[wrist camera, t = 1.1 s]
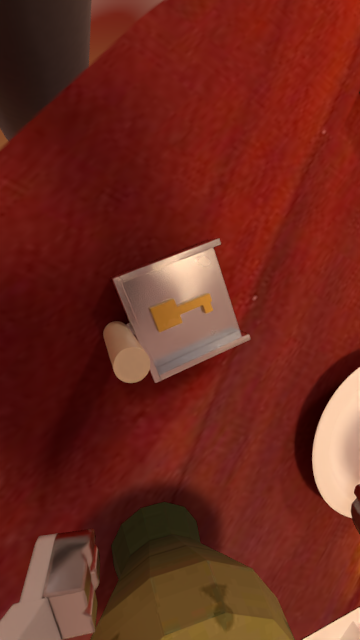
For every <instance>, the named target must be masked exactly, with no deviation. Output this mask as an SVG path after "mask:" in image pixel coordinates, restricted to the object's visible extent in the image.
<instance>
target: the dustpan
mask: <svg viewBox="0 0 360 640" xmlns="http://www.w3.org/2000/svg"><path fill="white" fill-rule="evenodd" d="M219 245H221V242H220V239H219V238H216V239H211V240H207V241H204V242H202V243H199V244H196V245H194V246H191V247H189V248H186V249H183V250H181V251H178V252H175V253H173V254H170V255H168V256H165V257H162V258H160V259H157V260H154V261H152V262H149V263H147V264H144V265H141V266H139V267H136V268H133V269H131V270H128V271H126V272H123V273H120V274H118V275H115V276H112V277H110V279H111V281H112V284H113V286H114V288H115V291H116V293H117V296H118V298H119V301H120V303H121V306H122V308H123V310H124V313H125V315H126V318H127V320H128V323H125V324H124V323H123V322H120V321H114V322H111V323H109V324H108V325H107V326H106V327H105V329H104V332H103V337H104V340H105V344H106V347H107V350H108V354H109V357H110V360H111V364H112V367H113V370H114V373H115V375H116V376H117V378H118V379H120V380H121V381H123V382H126V383H135V382H138V381H140V380H142V379H143V378H144V377H145V376H146V375H147V374H148V372H149V374H150V376H151V377H152V379H153V381H154V382H155V383H157V382H159V381H161V380H164V379H166V378H168V377H170V376H172V375H175V374H177V373H179V372H181V371H183V370H185V369H187V368H190V367H192V366H194V365H196V364H198V363H200V362H203V361H205V360H207V359H209V358H211V357H213V356H216V355H218V354H220V353H222V352H224V351H226V350H229V349H231V348H233V347H235V346H237V345H239V344H242V343H244V342H246V341H248V340H250V339H251V338H250V335H249V334H248V333H246V332H243V331H241V330H240V329H239V326H238V323H237V320H236V317H235V314H234V311H233V307H232V304H231V301H230V298H229V295H228V292H227V289H226V285H225V282H224V279H223V276H222V273H221V270H220V266H219V263H218V260H217V257H216V254H215V251H214V248H213V247H216V246H219ZM206 293H209V294H210V296H211V299H212V301H211V305H212V308H213V311H211V312H209V313H207V314H206V313H204V311H203V308H202V306H200V307H197V308H195V309H193V310H190V311H188V312H185V313H183V314H181V315H180V316H181V319H182V323H181V324H178V325H176V326H174V327H171V328H169V329H167V330H164V331H162V332H159V331H158V330H157V327H156V325H155V322H154V319H153V317H152V314H151V312H150V309H149V308H151V307H153V306H156V305H158V304H160V303H163V302H165V301H168V300H170V299H174V300H175V303H176V305H180V304H182V303H185V302H187V301H189V300H192V299H194V298H197V297H199V296H201V295H204V294H206Z"/></svg>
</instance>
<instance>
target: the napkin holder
mask: <svg viewBox="0 0 360 640" xmlns="http://www.w3.org/2000/svg"><path fill="white" fill-rule="evenodd" d="M303 640H360V607H359V608H357V609H356V610H354V611H352V612H350V613H349V614H347V615H345V616H343V617H341V618H340V619H338V620H336V621H334V622H333V623H331V624H329V625H327V626H326V627H324V628H322V629H320V630H319V631H317V632H315V633H313V634H312V635H310V636H308V637H306V638H305V639H303Z"/></svg>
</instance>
